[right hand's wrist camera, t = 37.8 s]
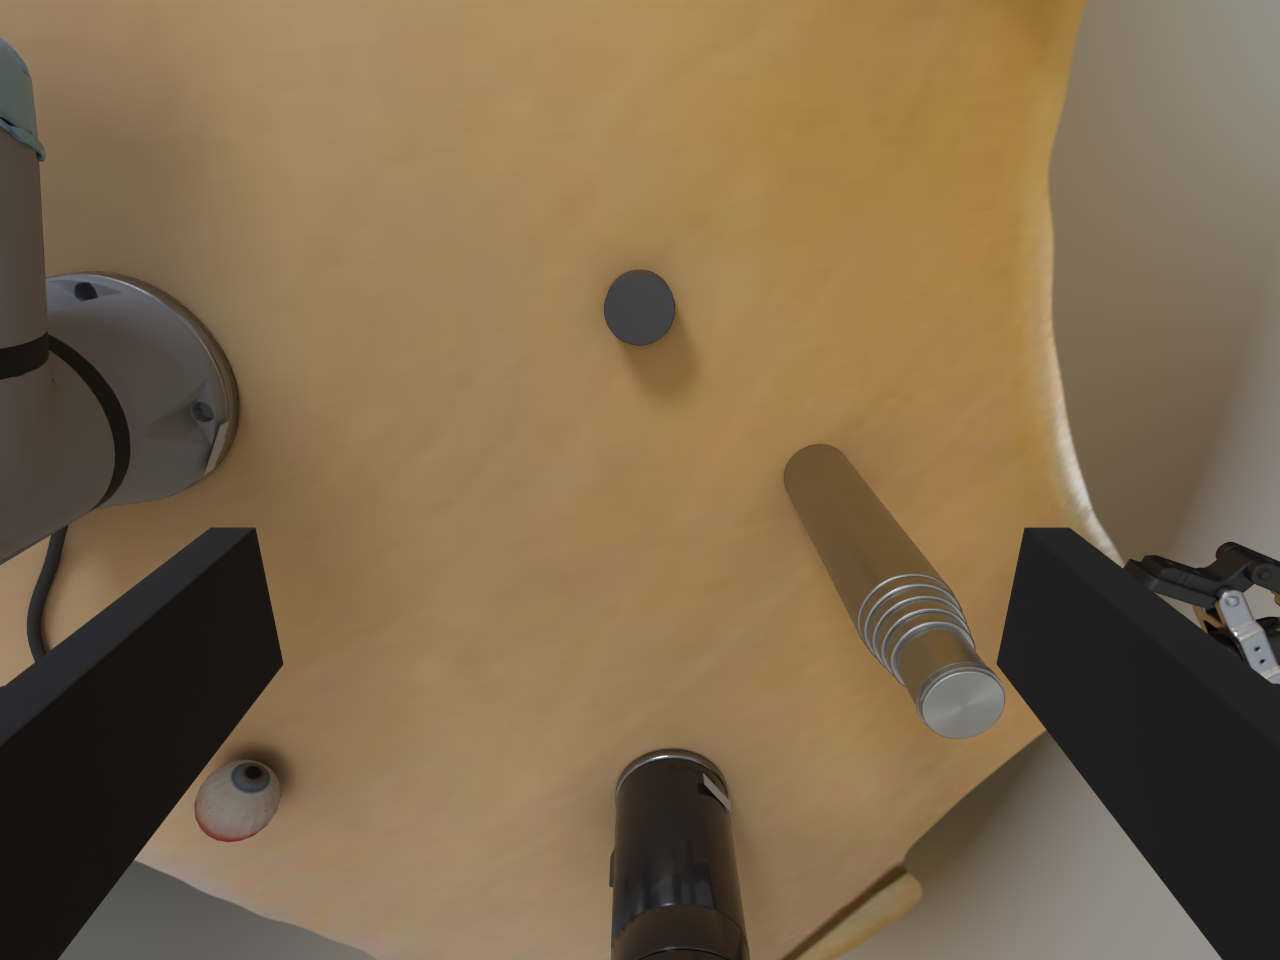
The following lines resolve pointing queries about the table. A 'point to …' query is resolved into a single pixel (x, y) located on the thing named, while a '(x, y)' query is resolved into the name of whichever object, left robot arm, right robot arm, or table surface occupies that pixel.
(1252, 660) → the left robot arm
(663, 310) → the cap
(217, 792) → the eyeball
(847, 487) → the bottle
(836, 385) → the table surface
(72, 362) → the right robot arm
